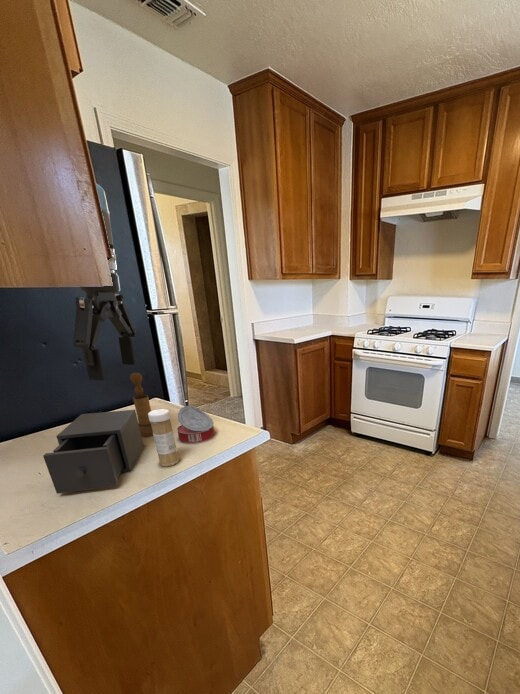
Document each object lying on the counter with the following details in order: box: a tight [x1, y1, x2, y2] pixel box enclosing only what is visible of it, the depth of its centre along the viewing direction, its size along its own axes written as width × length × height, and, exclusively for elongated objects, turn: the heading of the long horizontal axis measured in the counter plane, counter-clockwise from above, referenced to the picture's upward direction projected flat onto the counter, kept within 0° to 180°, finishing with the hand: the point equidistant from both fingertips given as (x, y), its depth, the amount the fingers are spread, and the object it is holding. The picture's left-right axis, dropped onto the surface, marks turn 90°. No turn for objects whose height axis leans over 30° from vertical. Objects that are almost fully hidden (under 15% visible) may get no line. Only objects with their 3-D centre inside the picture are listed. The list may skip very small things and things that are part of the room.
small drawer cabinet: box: [55, 409, 145, 473], centre depth 86 cm, size 15×13×11 cm
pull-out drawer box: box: [42, 433, 125, 494], centre depth 78 cm, size 15×11×9 cm
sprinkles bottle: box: [148, 408, 180, 467], centre depth 84 cm, size 5×5×14 cm
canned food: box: [176, 405, 216, 444], centre depth 101 cm, size 11×10×10 cm
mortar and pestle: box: [129, 372, 153, 438], centre depth 102 cm, size 7×6×18 cm
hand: (114, 371), depth 82 cm, fingers open, 13 cm apart
